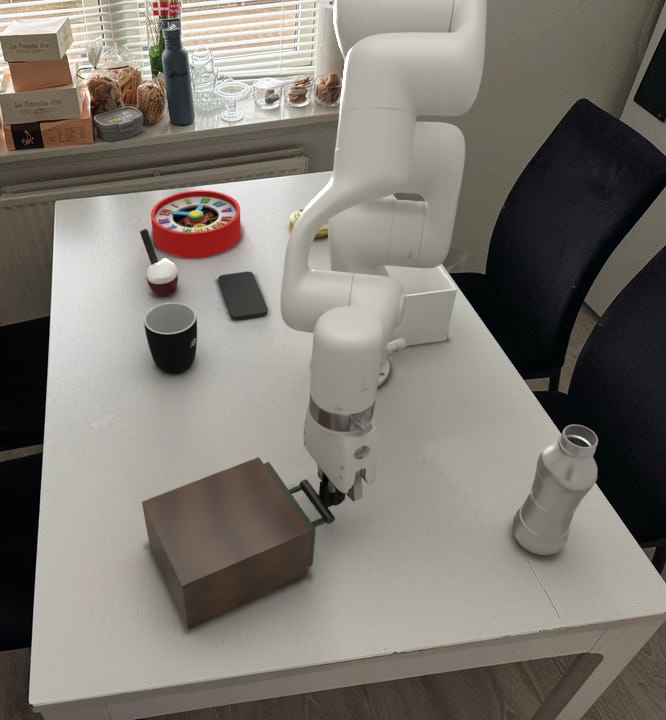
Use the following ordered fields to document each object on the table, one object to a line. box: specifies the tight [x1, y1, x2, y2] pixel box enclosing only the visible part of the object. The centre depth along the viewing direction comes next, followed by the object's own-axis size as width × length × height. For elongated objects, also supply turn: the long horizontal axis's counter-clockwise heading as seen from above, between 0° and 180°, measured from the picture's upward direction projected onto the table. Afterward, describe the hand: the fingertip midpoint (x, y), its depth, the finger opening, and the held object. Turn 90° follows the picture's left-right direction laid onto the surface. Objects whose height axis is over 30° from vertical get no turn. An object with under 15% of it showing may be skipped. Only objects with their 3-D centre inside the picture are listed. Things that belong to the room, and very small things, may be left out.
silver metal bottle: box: [512, 424, 599, 556], centre depth 84 cm, size 6×7×20 cm
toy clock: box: [150, 189, 242, 259], centre depth 155 cm, size 20×6×20 cm
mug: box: [143, 302, 198, 375], centre depth 121 cm, size 12×9×10 cm
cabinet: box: [141, 456, 310, 630], centre depth 88 cm, size 17×13×10 cm
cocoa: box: [139, 228, 179, 297], centre depth 137 cm, size 10×6×12 cm, turn 12°
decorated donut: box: [289, 206, 329, 238], centre depth 154 cm, size 10×11×4 cm
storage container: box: [384, 265, 458, 347], centre depth 128 cm, size 25×11×11 cm, turn 7°
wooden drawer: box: [263, 461, 336, 568], centre depth 89 cm, size 20×12×8 cm, turn 113°
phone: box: [217, 270, 269, 320], centre depth 137 cm, size 7×1×15 cm
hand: (331, 500), depth 93 cm, fingers closed
